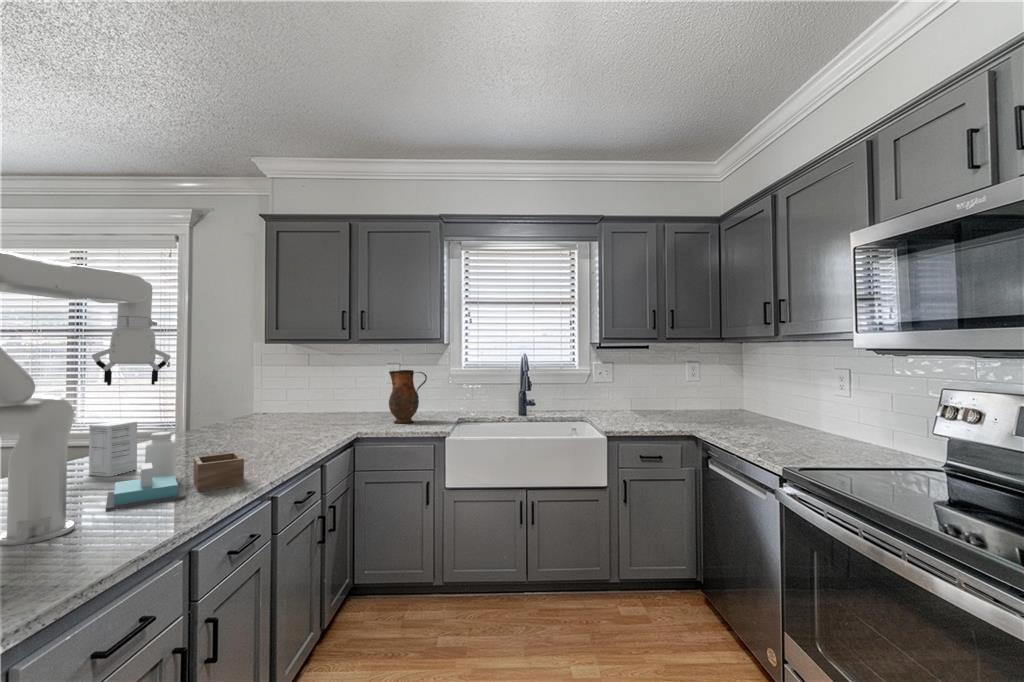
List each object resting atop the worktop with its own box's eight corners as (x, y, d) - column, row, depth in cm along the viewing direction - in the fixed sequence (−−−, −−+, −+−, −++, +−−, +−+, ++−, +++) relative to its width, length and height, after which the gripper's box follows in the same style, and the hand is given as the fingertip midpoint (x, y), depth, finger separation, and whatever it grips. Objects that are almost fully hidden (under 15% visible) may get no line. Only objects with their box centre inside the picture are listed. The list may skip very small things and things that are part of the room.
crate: (243, 484, 148) (244, 458, 148) (197, 491, 140) (198, 464, 140) (236, 476, 157) (237, 452, 157) (193, 482, 149) (193, 457, 150)
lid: (177, 495, 134) (178, 467, 134) (113, 505, 125) (114, 475, 125) (174, 484, 145) (174, 458, 145) (115, 492, 136) (115, 464, 136)
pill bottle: (159, 484, 147) (160, 435, 148) (138, 482, 149) (138, 434, 149) (181, 477, 155) (182, 431, 155) (161, 475, 157) (162, 430, 157)
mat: (184, 498, 134) (185, 495, 134) (105, 511, 123) (105, 508, 123) (180, 484, 147) (180, 482, 147) (108, 495, 136) (108, 492, 136)
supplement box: (138, 470, 163) (138, 421, 164) (109, 477, 155) (110, 425, 155) (116, 468, 166) (117, 420, 166) (87, 475, 157) (88, 424, 157)
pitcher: (389, 420, 277) (390, 369, 278) (426, 420, 281) (426, 369, 281) (387, 425, 261) (387, 370, 261) (426, 424, 265) (426, 370, 265)
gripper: (171, 326, 142) (169, 383, 141) (94, 323, 132) (91, 385, 131) (172, 325, 136) (170, 384, 135) (92, 321, 126) (89, 386, 125)
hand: (131, 384), depth 133 cm, fingers open, 9 cm apart
